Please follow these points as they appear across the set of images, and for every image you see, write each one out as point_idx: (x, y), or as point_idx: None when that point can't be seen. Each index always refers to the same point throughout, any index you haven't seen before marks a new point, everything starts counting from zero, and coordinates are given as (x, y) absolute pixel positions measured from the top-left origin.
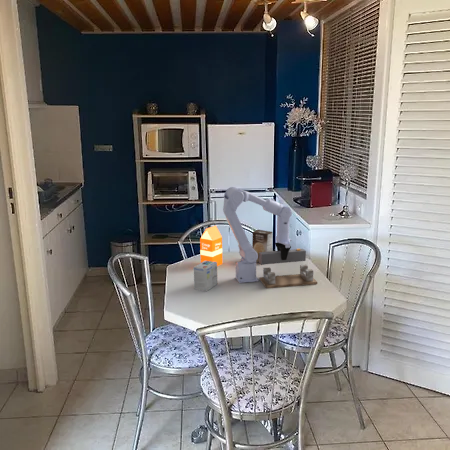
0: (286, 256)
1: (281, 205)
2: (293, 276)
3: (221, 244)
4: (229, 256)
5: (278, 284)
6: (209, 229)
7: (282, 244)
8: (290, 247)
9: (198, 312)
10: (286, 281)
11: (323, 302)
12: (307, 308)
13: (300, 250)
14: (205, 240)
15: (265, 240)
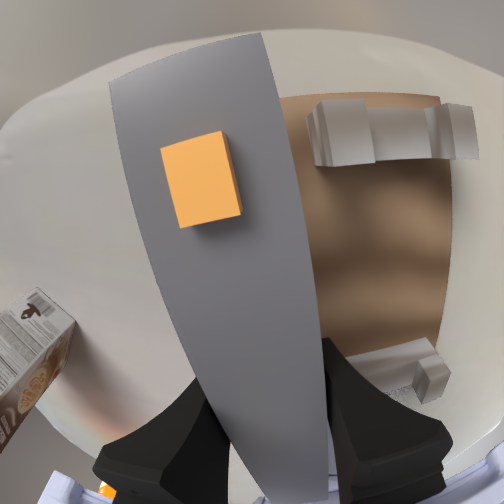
0: (343, 363)
1: None
2: (338, 219)
3: (108, 496)
4: (54, 403)
5: (434, 323)
6: None
7: (199, 491)
8: (447, 432)
9: (460, 446)
10: (412, 280)
11: None
12: None
13: (224, 134)
14: None
15: (4, 405)
